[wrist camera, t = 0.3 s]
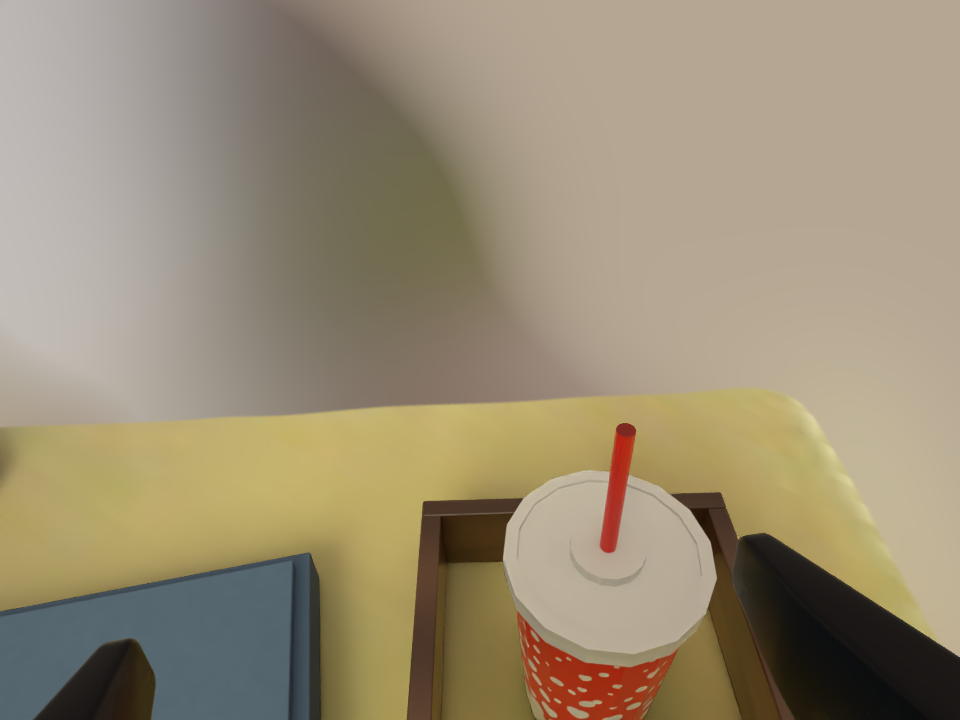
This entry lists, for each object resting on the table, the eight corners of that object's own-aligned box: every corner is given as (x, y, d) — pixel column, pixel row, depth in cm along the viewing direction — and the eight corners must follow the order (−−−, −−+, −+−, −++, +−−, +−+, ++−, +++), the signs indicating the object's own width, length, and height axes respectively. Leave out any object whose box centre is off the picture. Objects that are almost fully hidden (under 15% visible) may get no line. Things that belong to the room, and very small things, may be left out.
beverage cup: (659, 804, 21) (761, 571, 12) (485, 743, 23) (464, 498, 14) (676, 634, 26) (760, 372, 17) (529, 594, 27) (535, 335, 18)
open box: (821, 894, 19) (861, 864, 17) (409, 902, 20) (395, 873, 17) (705, 540, 29) (721, 491, 27) (429, 548, 29) (422, 500, 27)
